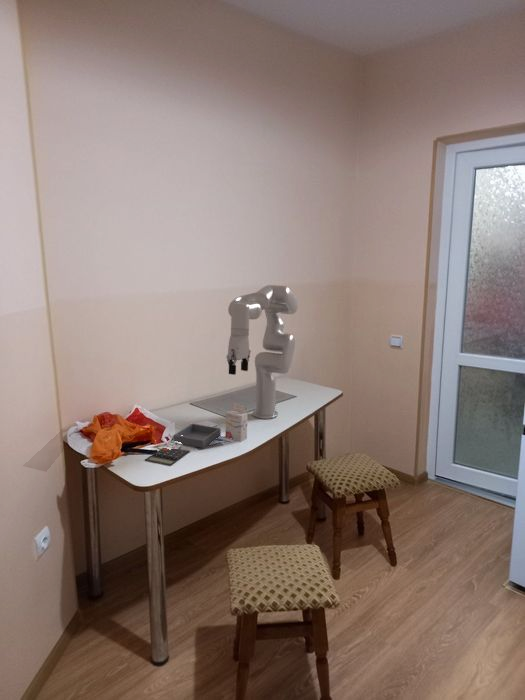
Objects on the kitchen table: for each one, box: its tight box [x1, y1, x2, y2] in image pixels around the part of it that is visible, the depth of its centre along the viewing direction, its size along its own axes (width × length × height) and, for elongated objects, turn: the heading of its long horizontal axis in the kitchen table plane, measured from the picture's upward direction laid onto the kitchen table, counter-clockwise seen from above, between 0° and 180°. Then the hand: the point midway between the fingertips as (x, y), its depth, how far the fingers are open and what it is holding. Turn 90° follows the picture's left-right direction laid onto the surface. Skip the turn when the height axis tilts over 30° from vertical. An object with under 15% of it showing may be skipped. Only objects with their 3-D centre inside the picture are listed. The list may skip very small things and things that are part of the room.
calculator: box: [144, 447, 191, 467], centre depth 199 cm, size 12×1×15 cm
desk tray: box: [172, 423, 222, 450], centre depth 216 cm, size 16×14×4 cm
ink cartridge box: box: [224, 402, 249, 442], centre depth 218 cm, size 9×5×15 cm, turn 58°
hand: (238, 372), depth 215 cm, fingers open, 9 cm apart
